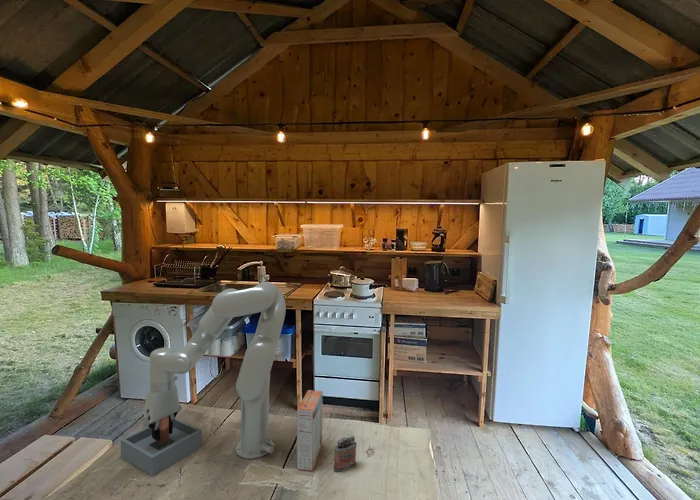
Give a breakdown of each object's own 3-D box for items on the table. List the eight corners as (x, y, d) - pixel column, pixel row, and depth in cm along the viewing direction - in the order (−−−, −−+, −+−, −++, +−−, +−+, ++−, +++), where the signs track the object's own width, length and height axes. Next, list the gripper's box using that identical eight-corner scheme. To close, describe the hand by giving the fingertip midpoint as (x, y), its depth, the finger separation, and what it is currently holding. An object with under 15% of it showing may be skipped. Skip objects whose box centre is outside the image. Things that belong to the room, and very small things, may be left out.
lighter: (336, 474, 110) (336, 444, 110) (331, 467, 113) (332, 438, 113) (357, 466, 114) (358, 437, 114) (353, 460, 117) (353, 432, 117)
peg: (171, 439, 120) (171, 411, 120) (160, 445, 117) (160, 416, 116) (164, 435, 122) (164, 408, 122) (153, 441, 119) (153, 413, 118)
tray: (201, 446, 123) (201, 429, 123) (152, 476, 107) (152, 457, 107) (170, 431, 132) (170, 415, 131) (120, 457, 116) (120, 439, 116)
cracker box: (306, 444, 126) (307, 388, 125) (322, 446, 125) (323, 390, 124) (295, 470, 112) (296, 408, 111) (313, 472, 111) (314, 409, 110)
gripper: (177, 374, 128) (177, 421, 128) (131, 391, 113) (131, 445, 114) (190, 378, 124) (190, 427, 125) (144, 397, 109) (144, 452, 110)
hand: (162, 435), depth 119 cm, fingers closed on peg, 3 cm apart
